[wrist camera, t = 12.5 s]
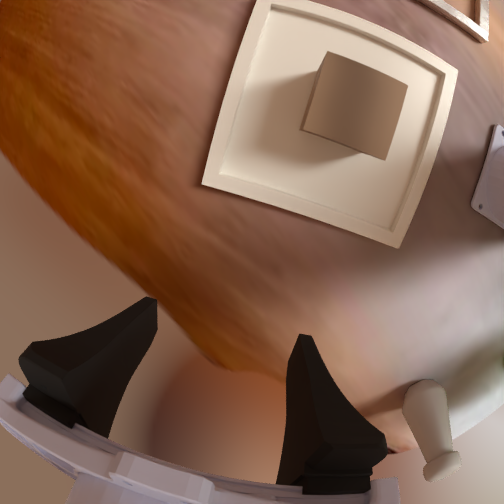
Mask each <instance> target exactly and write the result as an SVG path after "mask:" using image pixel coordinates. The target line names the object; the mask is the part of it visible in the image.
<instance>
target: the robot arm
mask: <svg viewBox="0 0 504 504" xmlns="http://www.w3.org/2000/svg"><path fill="white" fill-rule="evenodd" d="M501 133H502V134H501ZM479 205H480V208H479ZM471 207H472V208H473V209H474V210H476V211H477V212H479V213H480V214H482V215H484V216H485V217H487V218H488V219H490V220H491V221H493V222H494V223H495V224H497V225H498V226H500V227H501V228H503V229H504V128H503V127H502V126H501V125H498V124H496V125H495V126H494V130H493V134H492V138H491V142H490V146H489V149H488V153H487V156H486V160H485V163H484V166H483V170H482V173H481V176H480V179H479V182H478V185H477V187H476V190H475V193H474V196H473V198H472V201H471ZM157 329H158V328H157V299H153V298H150V297H145V298H143V299H141V300H140V301H138V302H137V303H135V304H133V305H132V306H130V307H129V308H127V309H125V310H124V311H122V312H121V313H119V314H117V315H115V316H114V317H112V318H110V319H108V320H106V321H104V322H103V323H100V324H98V325H96V326H94V327H92V328H89V329H87V330H84V331H81V332H78V333H75V334H72V335H69V336H65V337H61V338H57V339H51V340H45V341H36V342H32V343H31V344H30V345H29V346H28V348H27V349H26V350H25V351H24V352H23V353H22V354H21V355H20V357H19V365H20V367H21V369H22V371H23V373H24V375H25V376H26V378H27V380H28V382H29V385H28V387H27V388H26V386H25V385H24V384H23V383H21V382H20V381H19V380H17V379H16V378H15V377H13V376H12V375H11V374H7V376H6V377H5V378H4V379H3V380H2V382H1V383H0V423H1V424H2V426H3V427H4V428H5V429H6V430H7V431H8V432H10V433H11V434H12V435H13V436H14V437H16V438H17V439H18V440H19V441H21V442H22V443H23V444H24V445H26V446H27V447H28V448H30V449H31V450H32V451H33V452H35V453H36V454H38V455H39V456H40V457H41V458H43V459H44V460H46V461H47V462H48V463H50V464H52V465H53V466H54V467H56V468H57V469H59V470H61V471H62V472H64V473H65V474H67V475H68V476H70V477H71V478H73V479H75V480H76V481H75V483H74V485H73V487H72V490H71V492H70V494H69V496H68V498H67V500H66V502H65V504H401V502H400V494H399V487H398V478H397V477H392V478H384V479H376V480H372V481H370V476H371V475H372V474H373V472H372V467H373V466H375V465H376V464H378V463H379V462H380V461H381V460H383V459H384V458H385V457H386V456H387V454H388V449H387V443H386V439H385V435H384V434H383V433H382V432H381V431H379V430H378V429H377V428H376V427H374V426H373V425H372V424H370V423H369V422H368V421H367V420H366V419H365V418H364V417H363V416H362V415H361V414H360V413H359V412H358V411H357V410H356V409H355V408H354V407H353V406H352V405H351V403H350V402H349V401H348V400H347V399H346V397H345V396H344V395H343V393H342V392H341V391H340V389H339V388H338V386H337V385H336V383H335V382H334V380H333V378H332V377H331V375H330V373H329V371H328V370H327V368H326V366H325V364H324V362H323V360H322V358H321V356H320V354H319V351H318V349H317V347H316V345H315V342H314V340H313V338H312V336H310V335H304V334H299V336H298V338H297V341H296V343H295V346H294V348H293V351H292V353H291V356H290V358H289V361H288V367H287V376H286V427H285V435H284V442H283V449H282V455H281V460H280V466H279V471H278V476H277V481H276V484H267V483H259V482H251V481H245V480H239V479H234V478H228V477H223V476H218V475H213V474H209V473H205V472H201V471H197V470H193V469H189V468H186V467H182V466H179V465H176V464H172V463H169V462H166V461H163V460H160V459H157V458H154V457H151V456H148V455H146V454H143V453H140V452H138V451H135V450H132V449H130V448H127V447H125V446H122V445H120V444H118V443H116V442H114V441H111V440H109V439H108V437H109V433H110V430H111V427H112V424H113V420H114V418H115V415H116V412H117V409H118V406H119V404H120V401H121V399H122V396H123V394H124V392H125V389H126V387H127V385H128V383H129V381H130V379H131V377H132V375H133V374H134V372H135V370H136V369H137V367H138V365H139V364H140V362H141V360H142V359H143V357H144V355H145V354H146V352H147V350H148V349H149V347H150V345H151V343H152V341H153V339H154V337H155V334H156V332H157Z"/></svg>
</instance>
